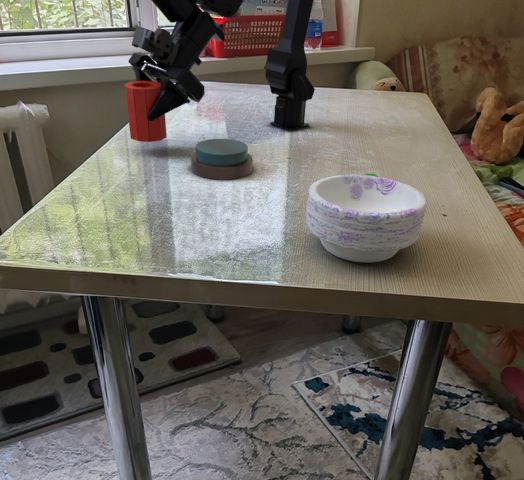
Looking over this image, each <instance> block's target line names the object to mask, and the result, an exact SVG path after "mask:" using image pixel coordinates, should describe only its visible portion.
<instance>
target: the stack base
mask: <svg viewBox="0 0 524 480" xmlns="http://www.w3.org/2000/svg"><path fill="white" fill-rule="evenodd" d="M248 151H249V147H248V144H246V143H244V142H243V141H240V140H236V139H230V138H211V139H205V140H201V141H199V142H197V143H196V144H195V152H194V153H193V154H191V156H190V170H191V172H192V173H193V174H195V175H196V176H199V177H201V178H204V179H208V180H209V179H210V180H218V181H219V180H220V181H225V180H227V181H228V180H237V179H241V178H245V177H248V176H249V175H250V174H252V172H253V164H254V163H253V162H254V158H253V156H252V155H251V154H250V153H249V152H248Z"/></svg>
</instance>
